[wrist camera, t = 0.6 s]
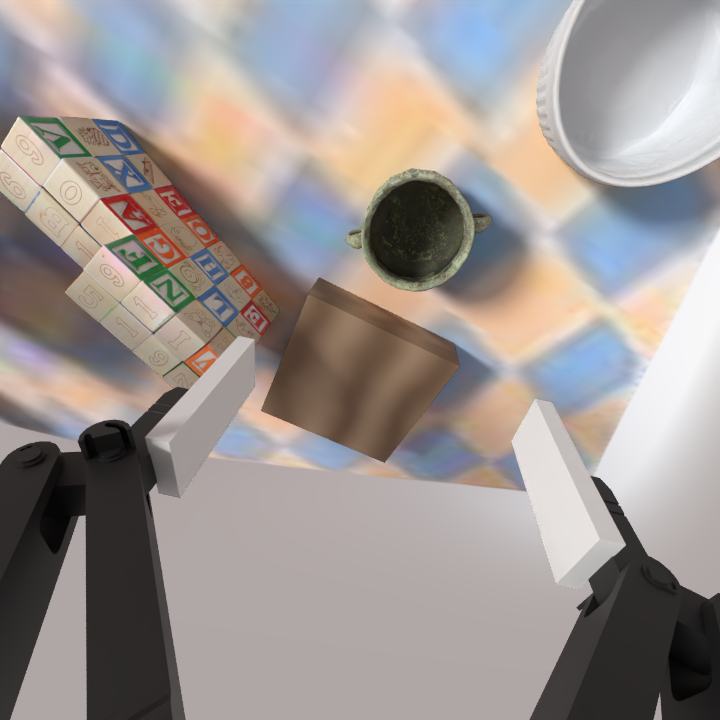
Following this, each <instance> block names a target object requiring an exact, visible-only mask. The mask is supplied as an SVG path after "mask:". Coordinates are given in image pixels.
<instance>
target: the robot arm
mask: <svg viewBox="0 0 720 720" xmlns="http://www.w3.org/2000/svg"><path fill="white" fill-rule="evenodd" d="M254 387H255V339H251V338H246V337H242V336H238V337H237V338H236V339H235V341H234V342H233V343H232V344H231V345H230V346H229V347H228V348H227V349H226V350H225V351H224V352H223V353H222V355H221V356H220V357H219V358H218V359H217V360H216V361H215V362H214V363H213V364H212V365H211V366H210V368H209V369H208V370H207V371H206V372H205V373H204V374H203V375H202V376H201V377H200V378H199V379H198V380H197V382H196V383H195V384H194V385H193V386H192V387H191V388H190V389H186V388H182V387H176V388H174V389H172V390H170V391H168V392H166V393H164V394H163V395H162V396H161V397H160V398H159V399H158V400H157V401H156V403H155V404H153V405H152V406H151V407H150V408H149V409H148V412H147V411H146V412H145V413H144V414H143V415H142V416H141V417H140V418H139V419H138V420H137V421H136V422H135V423H134V424H133V425H132V426H131V427H130V426H129V424H128V423H126V422H124V421H120V420H107V421H102V422H99V423H96V424H94V425H92V426H91V427H89V428H87V429H86V430H85V431H84V432H83V433H82V434H81V435H80V437H79V440H78V443H79V446H80V448H81V451H82V452H65V453H61V452H60V449H59V448H58V446H57V445H56V444H54V443H51V442H35V443H30V444H27V445H25V446H22V447H20V448H18V449H16V450H14V451H13V452H11V453H10V454H8V456H7V457H6V458H5V459H4V460H3V461H2V463H1V464H0V720H10V718H11V715H12V712H13V709H14V706H15V703H16V700H17V697H18V694H19V691H20V688H21V685H22V682H23V679H24V676H25V674H26V670H27V668H28V664H29V662H30V659H31V656H32V653H33V649H34V647H35V644H36V641H37V638H38V635H39V632H40V629H41V626H42V623H43V620H44V617H45V615H46V611H47V609H48V605H49V603H50V600H51V597H52V594H53V591H54V588H55V585H56V582H57V579H58V576H59V573H60V570H61V567H62V564H63V561H64V558H65V556H66V553H67V550H68V546H69V544H70V541H71V538H72V535H73V532H74V529H75V526H76V523H77V520H78V517H79V516H83V515H86V646H87V647H86V648H87V649H86V651H87V653H86V654H87V655H86V656H87V657H86V658H87V720H186V719H185V714H184V707H183V701H182V695H181V689H180V683H179V676H178V670H177V663H176V657H175V651H174V645H173V639H172V633H171V626H170V619H169V613H168V607H167V601H166V594H165V589H164V583H163V576H162V569H161V563H160V557H159V550H158V544H157V539H156V532H155V526H154V520H153V513H152V507H151V500H150V495H149V492H150V490H151V489H152V488H153V486H154V485H155V484H157V488H158V491H159V493H161V494H165V495H170V496H174V497H178V498H180V497H181V496H182V494H183V493H184V491H185V490H186V488H187V487H188V485H189V484H190V482H191V481H192V479H193V478H194V476H195V475H196V473H197V472H198V470H199V469H200V467H201V466H202V464H203V463H204V461H205V460H206V458H207V457H208V455H209V454H210V452H211V451H212V450H213V448H214V447H215V445H216V444H217V442H218V441H219V439H220V438H221V436H222V435H223V433H224V432H225V430H226V429H227V427H228V426H229V424H230V423H231V421H232V420H233V418H234V417H235V415H236V414H237V412H238V411H239V409H240V408H241V406H242V405H243V403H244V402H245V400H246V399H247V397H248V396H249V394H250V393H251V391H252V390H253V388H254ZM511 442H512V446H513V449H514V452H515V455H516V458H517V461H518V465H519V468H520V471H521V474H522V477H523V480H524V484H525V487H526V490H527V493H528V496H529V499H530V503H531V506H532V509H533V512H534V515H535V518H536V522H537V525H538V528H539V531H540V534H541V537H542V541H543V543H544V547H545V550H546V553H547V556H548V559H549V563H550V566H551V568H552V572H553V575H554V579H555V581H556V584H558V585H563V586H567V587H571V588H575V589H580V588H581V587H582V586H583V585H584V584H585V583H586V582H587V581H588V580H589V582H590V585H591V588H592V590H593V593H592V594H591V595H590V596H589V597H588V598H587V599H585V600H584V601H583V602H582V603H581V604H580V605H579V606H578V607H577V609H578V610H579V611H580V610H581V609H582V611H581V613H580V615H579V617H578V620H577V622H576V624H575V626H574V628H573V630H572V632H571V634H570V636H569V638H568V640H567V643H566V645H565V647H564V649H563V651H562V653H561V655H560V657H559V659H558V662H557V663H556V666H555V668H554V670H553V672H552V674H551V676H550V678H549V680H548V682H547V684H546V686H545V689H544V691H543V693H542V695H541V697H540V699H539V702H538V703H537V705H536V707H535V709H534V712H533V714H532V716H531V718H530V720H653V719H654V715H655V710H656V706H657V702H658V698H659V694H660V697H661V712H662V720H720V593H718V594H716V595H715V596H713V597H712V598H710V599H707V598H705V597H703V596H701V595H699V594H697V593H695V592H693V591H691V590H689V589H686V588H685V587H683V586H681V585H680V584H679V582H678V580H677V579H676V578H675V576H674V575H673V574H672V573H671V572H670V570H668V569H667V568H666V567H665V566H664V565H663V564H661V563H660V562H659V561H657V560H655V559H653V558H652V557H649V556H648V555H647V553H646V552H645V550H644V548H643V546H642V544H641V543H640V541H639V539H638V537H637V535H636V534H635V532H634V530H633V528H632V526H631V525H630V523H629V521H628V519H627V518H626V517H625V516H624V512H623V510H622V509H621V507H620V506H618V504H619V503H618V501H617V500H616V498H615V496H614V494H613V493H612V491H611V490H610V489H609V488H608V486H607V485H606V484H605V483H604V482H603V481H602V480H601V479H600V478H597V477H593V476H590V475H589V473H588V471H587V469H586V467H585V465H584V463H583V461H582V459H581V457H580V455H579V453H578V452H577V450H576V448H575V446H574V444H573V442H572V440H571V438H570V436H569V434H568V432H567V430H566V428H565V427H564V425H563V423H562V421H561V419H560V417H559V415H558V413H557V411H556V409H555V407H554V405H553V404H552V402H547V401H543V400H538V399H535V400H534V402H533V404H532V405H531V407H530V409H529V411H528V413H527V414H526V416H525V418H524V420H523V421H522V423H521V425H520V427H519V428H518V430H517V432H516V434H515V436H514V437H513V439H512V441H511Z"/></svg>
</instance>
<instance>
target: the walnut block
mask: <svg viewBox="0 0 720 720" xmlns="http://www.w3.org/2000/svg"><path fill="white" fill-rule="evenodd" d="M459 367H460V366H459V361H458V357H457V352H456V348H455V344H454V343H453V342H451V341H449V340H447V339H444V338H442V337H440V336H438V335H436V334H434V333H432V332H430V331H428V330H426V329H424V328H422V327H420V326H418V325H416V324H414V323H412V322H410V321H407V320H405V319H403V318H401V317H399V316H397V315H395V314H393V313H391V312H389V311H387V310H385V309H383V308H381V307H379V306H377V305H375V304H373V303H371V302H368V301H366V300H364V299H362V298H360V297H358V296H356V295H354V294H352V293H350V292H348V291H346V290H344V289H342V288H340V287H338V286H336V285H334V284H331V283H329V282H327V281H325V280H323V279H321V278H318V280H317V281H316V283H315V285H314V286H313V288H312V289H311V291H310V292H309V294H308V296H307V298H306V301H305V303H304V306H303V308H302V311H301V313H300V316H299V318H298V321H297V323H296V326H295V328H294V330H293V333H292V335H291V338H290V340H289V343H288V345H287V348H286V350H285V353H284V355H283V357H282V360H281V362H280V365H279V367H278V370H277V372H276V375H275V377H274V380H273V382H272V385H271V387H270V389H269V392H268V394H267V397H266V399H265V402H264V404H263V407H262V409H261V411H262V412H265V413H267V414H270V415H272V416H274V417H277V418H279V419H282V420H284V421H286V422H289V423H291V424H294V425H296V426H298V427H301V428H303V429H305V430H308V431H310V432H313V433H315V434H317V435H320V436H322V437H325V438H327V439H329V440H332V441H334V442H336V443H339V444H341V445H344V446H346V447H348V448H351V449H353V450H356V451H358V452H360V453H363V454H365V455H368V456H370V457H372V458H375V459H377V460H379V461H382V462H384V463H385V461H386V460H387V459H388V458H389V456H390V455H391V454H392V452H393V451H394V450H395V449H396V447H397V446H398V445H399V444H400V442H401V441H402V440H403V438H404V437H405V436H406V435H407V433H408V432H409V431H410V429H411V428H412V427H413V426H414V424H415V423H416V422H417V420H418V419H419V418H420V417H421V415H422V414H423V413H424V412H425V410H426V409H427V408H428V406H429V405H430V404H431V403H432V401H433V400H434V399H435V397H436V396H437V395H438V394H439V392H440V391H441V390H442V388H443V387H444V386H445V385H446V383H447V382H448V381H449V380H450V378H451V377H452V376H453V374H454V373H455V372H456V371H457V369H458V368H459Z"/></svg>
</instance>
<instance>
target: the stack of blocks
mask: <svg viewBox="0 0 720 720" xmlns="http://www.w3.org/2000/svg"><path fill="white" fill-rule="evenodd" d="M1 148H2V149H1V150H0V192H1V193H3V194H4V195H5V196H6V197H7V198H8V199H9V200H10V201H11V202H12V203H13V204H14V205H16V206H17V207H18V208H19V209H20V210H21V211H23V212H25V215H26V217H28V218H29V219H30V220H31V221H32V222H33V223H34V224H35V225H36V226H37V227H38V228H39V229H41V230H42V231H43V232H44V233H45V234H46V235H47V236H48V237H49V238H50V239H51V240H52V241H54V242H55V243H56V244H57V245H58V246H60V247H61V248H62V250H63V251H64V252H65V253H66V254H67V255H69V256H70V257H71V258H72V259H73V260H74V261H75V262H76V263H77V264H79V265H80V266H81V267H82V268H83V269H84V270H83V272H82V273H81V274H80V275H79V277H78V278H77V279H76V280H75V281H74V282H73V283H72V284H71V285H70V286H69V287H68V288H67V289H66V290H65V294H66V295H67V296H69V297H70V298H71V299H72V300H73V301H74V302H75V303H77V304H78V305H79V306H80V307H81V308H82V309H83V310H85V311H86V312H87V313H88V314H89V315H90V316H92V317H93V318H94V319H95V320H96V321H98V322H100V323H101V324H102V325H103V326H104V327H105V328H106V329H107V330H108V331H109V332H110V333H112V334H113V335H114V336H115V337H116V338H118V339H119V340H120V341H121V342H122V343H123V344H124V345H125V346H127V347H128V348H129V349H131V350H132V351H133V353H135V354H136V355H137V356H138V357H139V358H140V359H141V360H143V361H144V362H145V363H146V364H147V365H148V366H149V367H150V368H152V369H153V370H154V371H155V372H156V373H157V374H159V375H160V376H162V377H163V379H164V380H165V381H166V382H167V383H168V384H169V385H170V386H171V387H172V388H176V387H182V388H186V389H190V388H191V387H192V386H193V385H194V384H195V383H196V382H197V380H198V379H199V378H200V377H201V376H202V375H203V374H204V373H205V372H206V371H207V370H208V369H209V368H210V366H211V365H212V364H213V363H214V362H215V361H216V360H217V359H218V358H219V357H220V356H221V355H222V353H223V352H224V351H225V350H226V349H227V348H228V347H229V346H230V345H231V344H232V343H233V342H234V341H235V339H236V338H237V337H238V336H242V337H246V338H251V339H255V345H256V344H257V343H258V341H259V340H260V338H261V336H262V335H263V334H264V332H265V331H266V329H267V328H268V326H269V325H270V323H271V322H272V321H273V320H274V318H275V317H276V316H277V314H278V313H279V311H280V310H279V309H278V308H277V306H276V305H275V304H274V303H273V302H272V300H271V299H270V298H269V297H268V296H267V294H266V293H265V292H264V291H263V290H262V288H261V286H260V285H259V284H258V283H257V282H256V280H255V279H254V278H253V277H252V276H251V275H250V273H249V272H248V271H247V270H246V269H245V267H244V266H243V265H242V264H241V263H240V262H239V260H238V259H237V258H236V257H235V255H234V254H233V253H232V252H231V251H230V250H229V248H228V247H227V246H226V245H225V244H224V243H223V242H222V241H221V240H219V239H218V237H217V236H216V235H215V234H214V233H213V231H212V230H211V229H210V228H209V227H208V226H207V224H206V223H205V222H204V221H203V220H202V219H201V217H200V216H199V215H198V214H196V213H195V211H194V210H193V209H192V208H191V206H190V205H189V204H188V203H187V202H186V200H185V199H184V198H183V197H182V196H181V195H180V194H179V192H178V191H177V190H176V189H175V188H174V187H173V186H172V183H171V182H170V181H169V179H168V178H167V177H166V176H165V175H164V174H163V172H162V171H161V170H160V169H159V168H158V167H157V165H156V164H155V163H154V162H153V161H152V159H151V158H150V157H149V156H148V155H147V154H146V153H145V152H144V150H143V149H142V148H141V147H140V146H139V144H138V143H137V142H136V141H135V140H134V139H133V138H132V136H131V135H130V134H129V133H128V132H127V131H126V129H125V128H124V127H123V126H122V125H121V124H120V123H119V122H118V121H113V120H100V119H88V118H77V117H58V118H51V117H31V116H19V117H18V118H17V120H16V122H15V123H14V125H13V127H12V128H11V130H10V132H9V134H8V135H7V137H6V138H5V140H4V142H3V143H2V145H1Z"/></svg>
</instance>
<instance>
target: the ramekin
mask: <svg viewBox="0 0 720 720" xmlns="http://www.w3.org/2000/svg"><path fill="white" fill-rule="evenodd" d="M536 103H537V115H538V117H539V125H540V127H541V129H542V133H543V136H544V137H545V138H546V140H547V143H548V145H550V146H551V147H552V149H553V151H554V152H555V153H556V154H558V155H559V156H560V157H561V158H562V159H563V160H564V161H566V162H567V163H568V164H569V165H570V166H571V167H572V168H573V169H574V170H576V171H577V172H578V173H580V174H581V175H583V176H584V177H586V178H588V179H590V180H593V181H595V182H598V183H601V184H605V185H611V186H619V187H645V186H652V185H657V184H661V183H665V182H668V181H672V180H675V179H677V178H680V177H683V176H685V175H688V174H690V173H692V172H694V171H696V170H698V169H700V168H702V167H704V166H706V165H708V164H710V163H712V162H713V161H715V160H717V159H718V158H720V0H573V2H572V4H571V6H570V7H569V9H568V10H567V12H566V13H565V15H564V16H563V18H562V20H561V22H560V24H559V25H558V27H557V28H556V30H555V32H554V34H553V36H552V40H551V41H550V43H549V44H548V47H547V50H546V55H545V57H544V59H543V61H542V65H541V71H540V74H539V79H538V85H537V98H536Z"/></svg>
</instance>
